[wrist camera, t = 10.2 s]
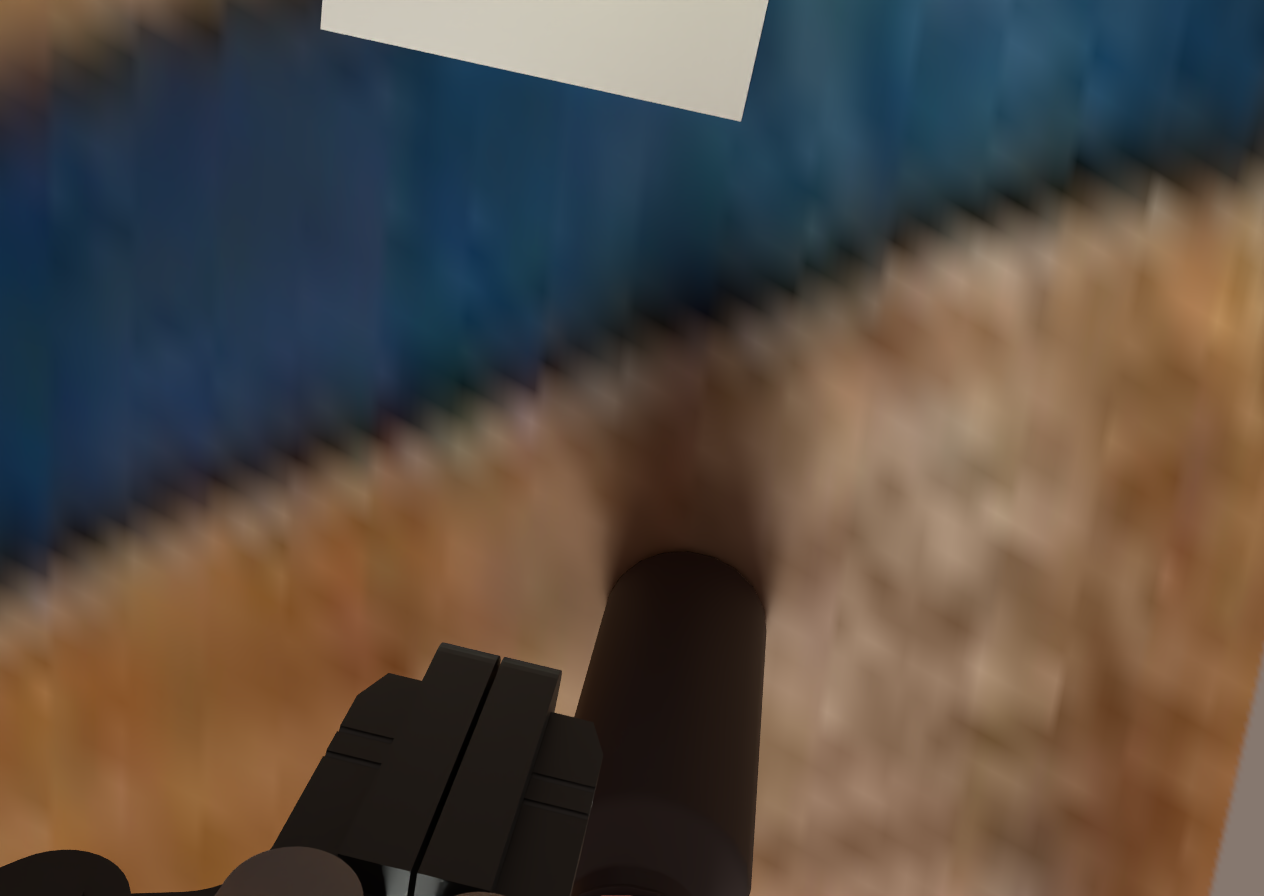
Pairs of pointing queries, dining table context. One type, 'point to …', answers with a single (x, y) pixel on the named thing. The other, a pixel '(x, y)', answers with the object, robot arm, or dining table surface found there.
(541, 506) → the dining table surface
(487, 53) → the mat
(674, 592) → the vinegar
